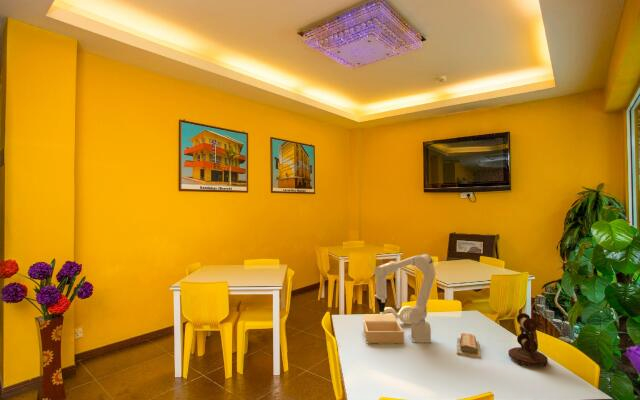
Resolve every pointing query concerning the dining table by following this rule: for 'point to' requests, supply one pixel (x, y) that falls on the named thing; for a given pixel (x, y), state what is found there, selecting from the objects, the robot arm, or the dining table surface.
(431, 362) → the dining table surface
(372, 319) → the carton flap
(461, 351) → the packaged product
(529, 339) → the brown figurine statuette
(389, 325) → the carton
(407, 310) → the letter
